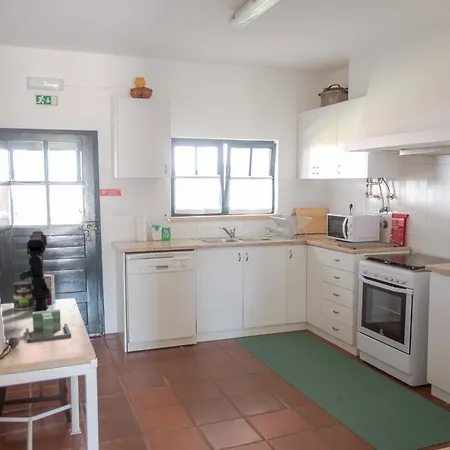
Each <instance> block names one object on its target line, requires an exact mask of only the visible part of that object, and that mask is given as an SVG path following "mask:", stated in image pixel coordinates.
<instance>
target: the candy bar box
mask: <svg viewBox="0 0 450 450" xmlns="http://www.w3.org/2000/svg"><path fill="white" fill-rule="evenodd" d="M44 278H45V282H46V284H47V288H49V290H50V298H49V299H47V305H53V304H55V303H56V286H55V285H56V284H55V274H44ZM46 296H48V295H46ZM34 297H35V296H34ZM33 305H36V301H35V300H33Z"/></svg>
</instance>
